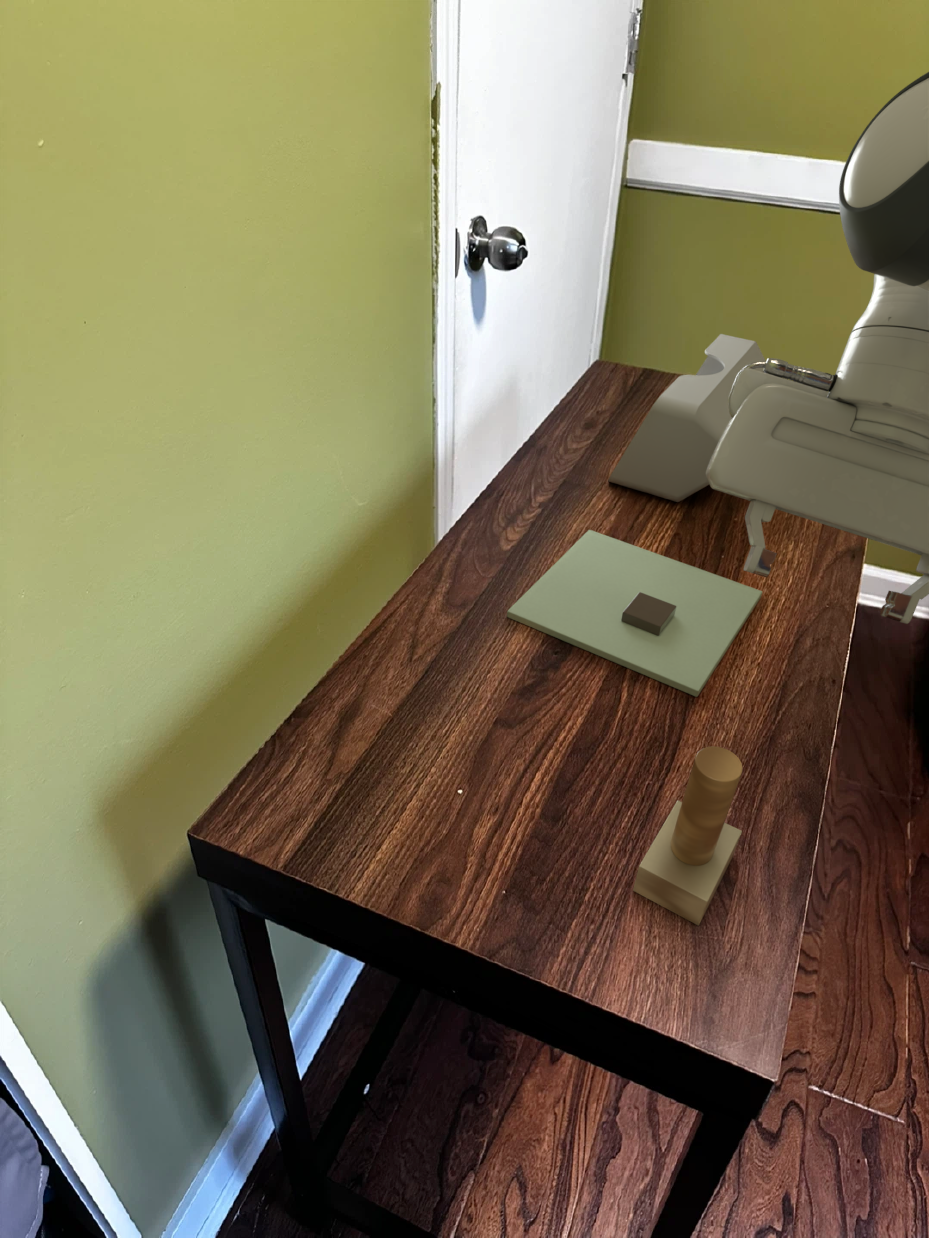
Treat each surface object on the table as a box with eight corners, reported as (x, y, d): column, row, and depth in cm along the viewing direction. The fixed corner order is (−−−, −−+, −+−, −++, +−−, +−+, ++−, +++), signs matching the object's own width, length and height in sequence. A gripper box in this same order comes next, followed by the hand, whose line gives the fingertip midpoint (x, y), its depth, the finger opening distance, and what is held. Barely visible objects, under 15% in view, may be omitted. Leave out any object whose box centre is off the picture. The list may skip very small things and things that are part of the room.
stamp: (733, 855, 64) (774, 746, 56) (698, 926, 59) (738, 817, 52) (670, 824, 66) (701, 715, 58) (632, 890, 61) (661, 781, 54)
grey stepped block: (731, 523, 100) (757, 425, 92) (604, 485, 106) (618, 389, 98) (785, 439, 117) (811, 350, 109) (673, 410, 123) (690, 323, 115)
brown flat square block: (674, 615, 85) (676, 605, 84) (658, 636, 82) (660, 626, 81) (637, 600, 86) (639, 591, 86) (620, 621, 84) (622, 611, 83)
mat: (761, 597, 89) (763, 591, 88) (697, 697, 77) (698, 691, 76) (588, 535, 97) (589, 529, 96) (506, 617, 85) (506, 610, 85)
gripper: (753, 338, 54) (677, 548, 56) (1088, 437, 51) (996, 653, 53) (739, 359, 60) (670, 546, 62) (1037, 447, 57) (955, 640, 59)
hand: (823, 596), depth 58 cm, fingers open, 8 cm apart
